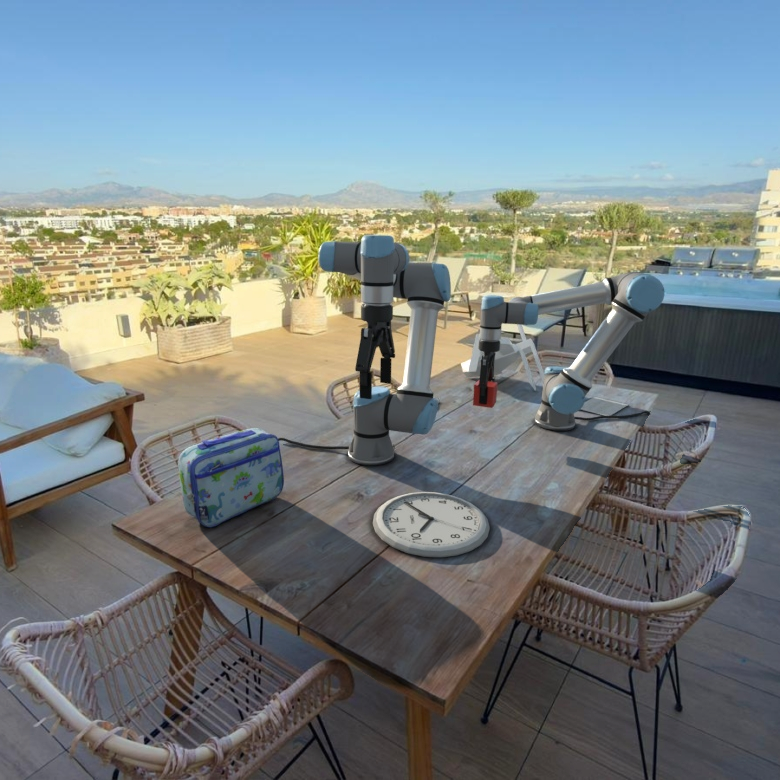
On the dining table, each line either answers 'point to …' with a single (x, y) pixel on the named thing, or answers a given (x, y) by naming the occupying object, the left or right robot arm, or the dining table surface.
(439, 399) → the fork
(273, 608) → the dining table surface
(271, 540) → the dining table surface
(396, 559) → the dining table surface
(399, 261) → the left robot arm
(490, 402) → the brick
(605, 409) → the invitation card
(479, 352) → the white plastic object
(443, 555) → the wall clock
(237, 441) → the lunch box
